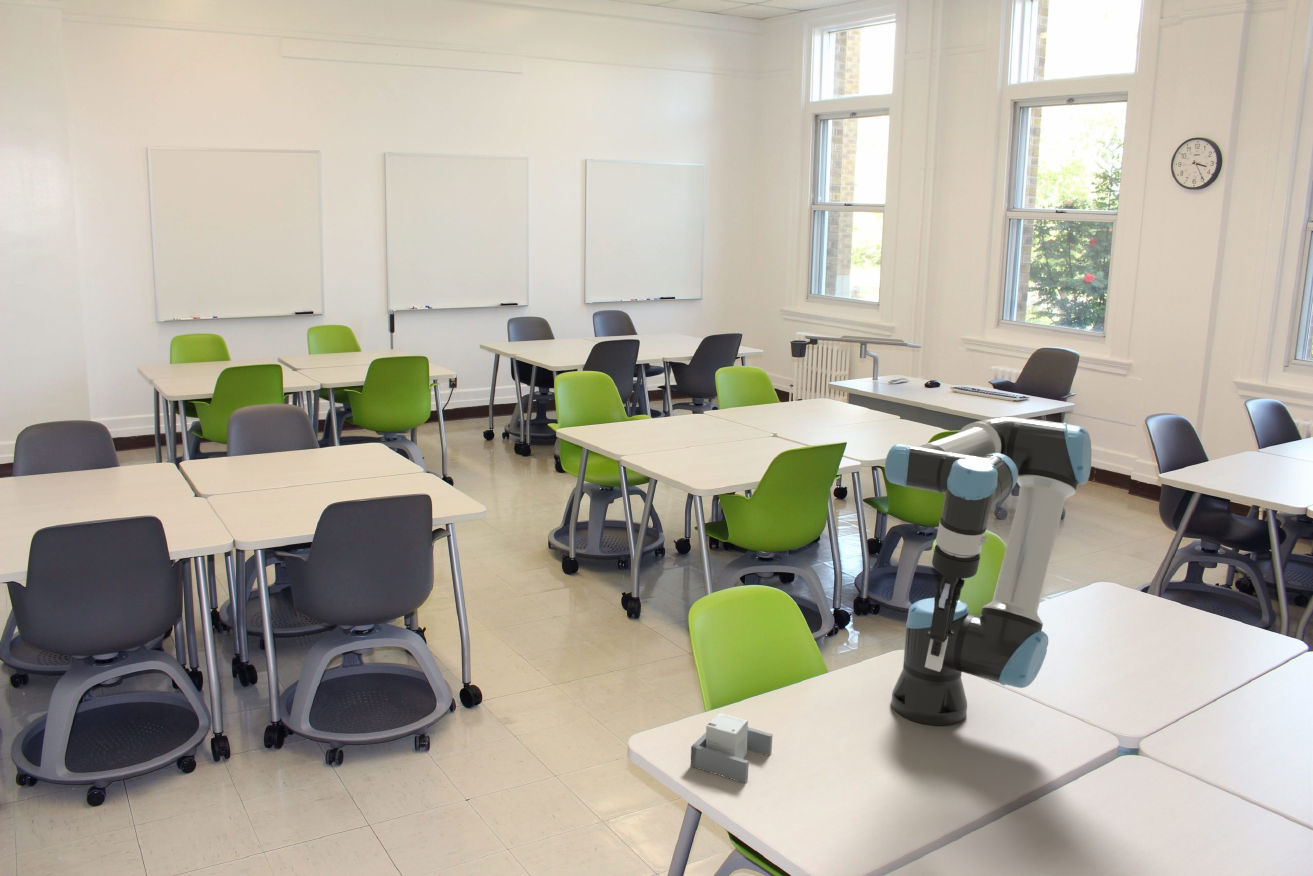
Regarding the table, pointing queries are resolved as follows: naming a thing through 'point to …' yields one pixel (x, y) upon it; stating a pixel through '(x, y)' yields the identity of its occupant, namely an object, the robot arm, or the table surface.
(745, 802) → the table surface
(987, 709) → the table surface
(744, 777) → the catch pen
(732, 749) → the skincare box
